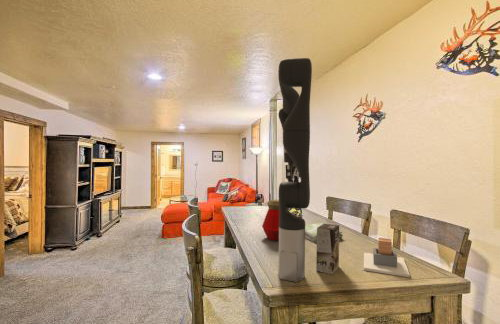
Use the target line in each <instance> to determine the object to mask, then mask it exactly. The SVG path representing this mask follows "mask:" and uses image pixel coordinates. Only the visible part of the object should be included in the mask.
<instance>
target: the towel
mask: <svg viewBox="0 0 500 324" xmlns="http://www.w3.org/2000/svg"><path fill="white" fill-rule="evenodd" d="M322 224H326V223H324V222H319V223H312V224H305V239H306V240H308V241H311V242H313V243H317V228H318V227H319V226H321V225H322ZM342 239H343V231H341V230H339V241H340V240H342Z"/></svg>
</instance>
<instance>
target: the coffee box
mask: <svg viewBox="0 0 500 324" xmlns="http://www.w3.org/2000/svg"><path fill="white" fill-rule="evenodd" d="M339 231H340V224H339V225H338V224H330V223H329V224H328V223H325V224H322V225H321V226H319V227H318V228H317V242H316V258H315V261H316V263H315V264H316V269H315V270H316V271H318V272H322V273H326V274H330V275H333V274H334V273H335V271H336V270H337V269H338V268H339V267H340V240H339Z"/></svg>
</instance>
